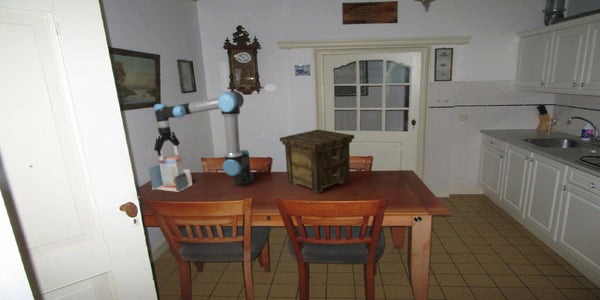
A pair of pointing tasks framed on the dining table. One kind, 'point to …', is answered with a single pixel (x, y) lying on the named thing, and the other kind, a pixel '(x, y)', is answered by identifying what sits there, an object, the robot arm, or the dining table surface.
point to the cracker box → (170, 170)
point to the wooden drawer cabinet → (317, 158)
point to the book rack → (158, 183)
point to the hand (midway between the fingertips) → (169, 157)
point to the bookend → (181, 181)
